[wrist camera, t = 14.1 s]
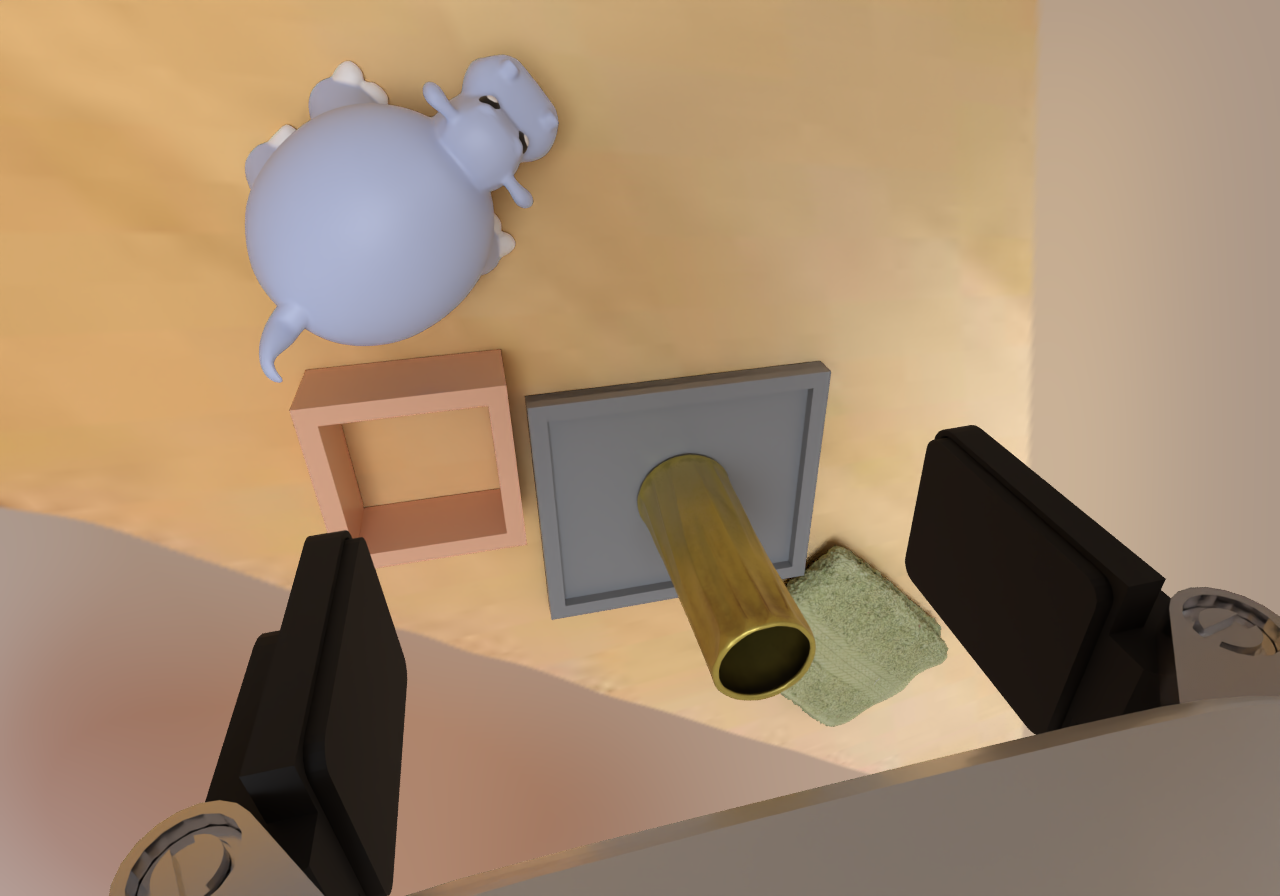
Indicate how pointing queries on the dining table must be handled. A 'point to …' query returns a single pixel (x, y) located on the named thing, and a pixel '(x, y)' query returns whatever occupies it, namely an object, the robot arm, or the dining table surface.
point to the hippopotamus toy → (388, 203)
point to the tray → (651, 434)
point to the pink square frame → (401, 393)
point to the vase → (725, 580)
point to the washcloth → (858, 638)
